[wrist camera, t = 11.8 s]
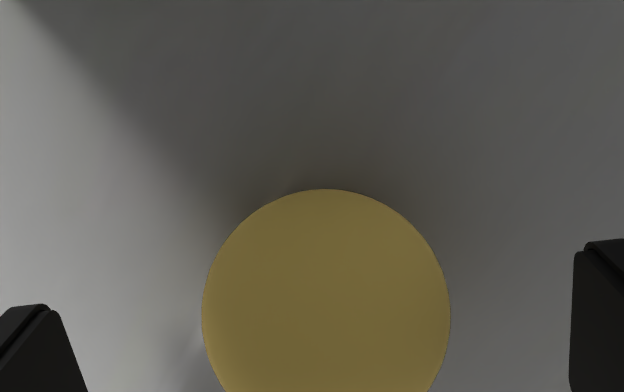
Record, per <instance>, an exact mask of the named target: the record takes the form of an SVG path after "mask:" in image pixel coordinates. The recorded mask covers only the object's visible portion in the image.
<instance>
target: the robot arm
mask: <svg viewBox="0 0 624 392" xmlns="http://www.w3.org/2000/svg"><path fill="white" fill-rule="evenodd" d="M569 383H570V387H571V391H572V392H624V239H612V240H603V241H594V242H588V243H587V244H586V245H585V247H584V251H580V252H577V253H576V254H575V257H574V269H573V290H572V312H571V333H570V355H569ZM0 392H88V390H87V388H86V385H85V382H84V380H83V377H82V374H81V371H80V369H79V366H78V363H77V361H76V358H75V355H74V352H73V350H72V347H71V344H70V342H69V339H68V336H67V333H66V331H65V328H64V325H63V323H62V320H61V317H60V315H59V314H58V313H57V312H56V311H54V310H51V309H50V308H49V307H48V306H47V305H45V304H34V305H25V306H16V307H11V308H9V309H8V310H7V311H6V312H5V313H4V314H3V315H2V316H1V317H0Z"/></svg>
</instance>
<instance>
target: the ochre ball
mask: <svg viewBox="0 0 624 392" xmlns="http://www.w3.org/2000/svg"><path fill="white" fill-rule="evenodd" d="M450 319H451V315H450V301H449V293H448V289H447V285H446V282H445V278H444V275H443V271H442V269H441V267H440V265H439V263H438V261H437V258H436V256H435V255H434V253H433V251H432V249H431V248H430V246H429V245H428V243H427V242H426V240H425V239H424V237H423V236H422V235H421V234H420V233H419V232H418V231H417V230H416V229H415V228H414V226H413V225H412V224H411V223H410V222H409V221H407V220H406V219H405V218H404V217H403V216H401V215H400V214H399V213H398V212H396V211H395V210H393V209H391V208H390V207H388V206H387V205H385V204H383V203H381V202H379V201H376V200H374V199H372V198H370V197H367V196H364V195H361V194H358V193H355V192H349V191H344V190H336V189H315V190H307V191H301V192H296V193H293V194H290V195H287V196H283V197H281V198H279V199H277V200H274V201H272V202H270V203H268V204H266V205H264V206H263V207H261V208H260V209H258V210H256V211H255V212H253V213H252V214H251V215H250V216H248V217H247V218H246V219H245V220H244V221H242V222H241V223H240V225H239V226H238V227H237V228H236V229H235V230H234V231H233V232H232V233H231V234H230V235H229V237H228V238H227V239H226V241H225V242H224V244H223V245H222V247H221V248H220V250H219V252H218V254H217V255H216V257H215V259H214V262H213V264H212V266H211V268H210V270H209V274H208V277H207V280H206V284H205V288H204V292H203V300H202V332H203V338H204V343H205V348H206V352H207V355H208V358H209V361H210V364H211V366H212V368H213V370H214V373H215V375H216V376H217V378H218V380H219V382H220V384H221V386H222V387H223V388H224V390H225V391H226V392H427V391H428V390H429V388H430V387H431V385H432V383H433V381H434V380H435V378H436V376H437V374H438V372H439V370H440V368H441V365H442V362H443V360H444V357H445V354H446V349H447V344H448V339H449V334H450Z"/></svg>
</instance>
